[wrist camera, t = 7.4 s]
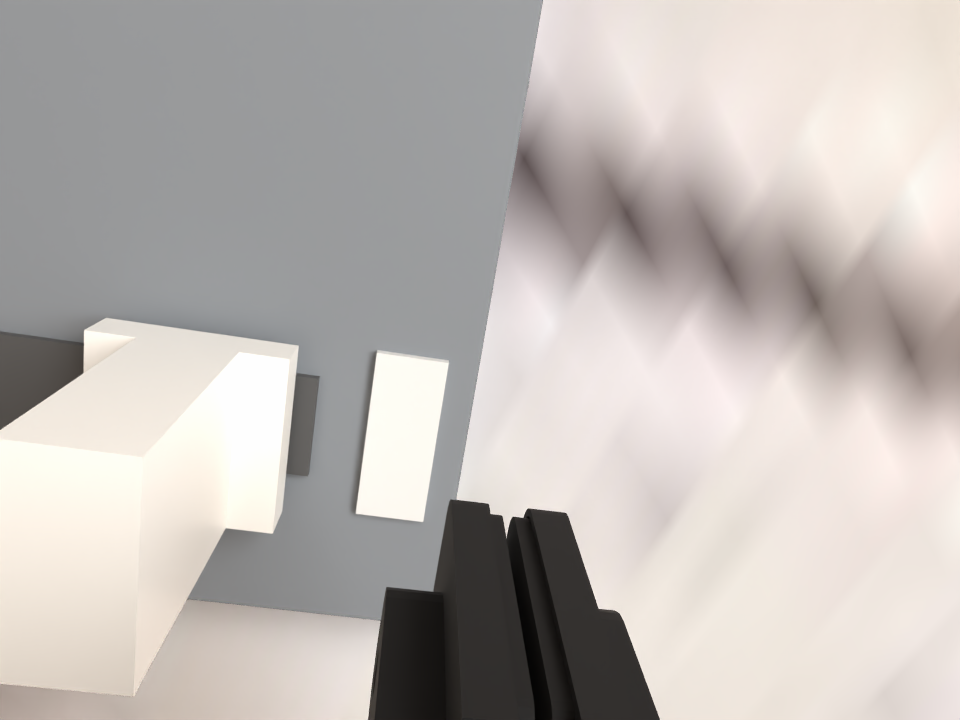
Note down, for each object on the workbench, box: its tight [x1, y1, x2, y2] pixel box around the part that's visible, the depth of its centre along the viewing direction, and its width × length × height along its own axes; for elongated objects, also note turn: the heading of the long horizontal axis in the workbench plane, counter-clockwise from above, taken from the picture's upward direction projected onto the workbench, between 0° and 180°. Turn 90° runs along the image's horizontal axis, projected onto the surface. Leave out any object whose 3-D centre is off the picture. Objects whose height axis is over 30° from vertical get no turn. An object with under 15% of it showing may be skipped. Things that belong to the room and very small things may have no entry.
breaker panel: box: [0, 0, 543, 621], centre depth 15 cm, size 24×18×2 cm
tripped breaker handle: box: [0, 318, 299, 697], centre depth 13 cm, size 4×4×6 cm
